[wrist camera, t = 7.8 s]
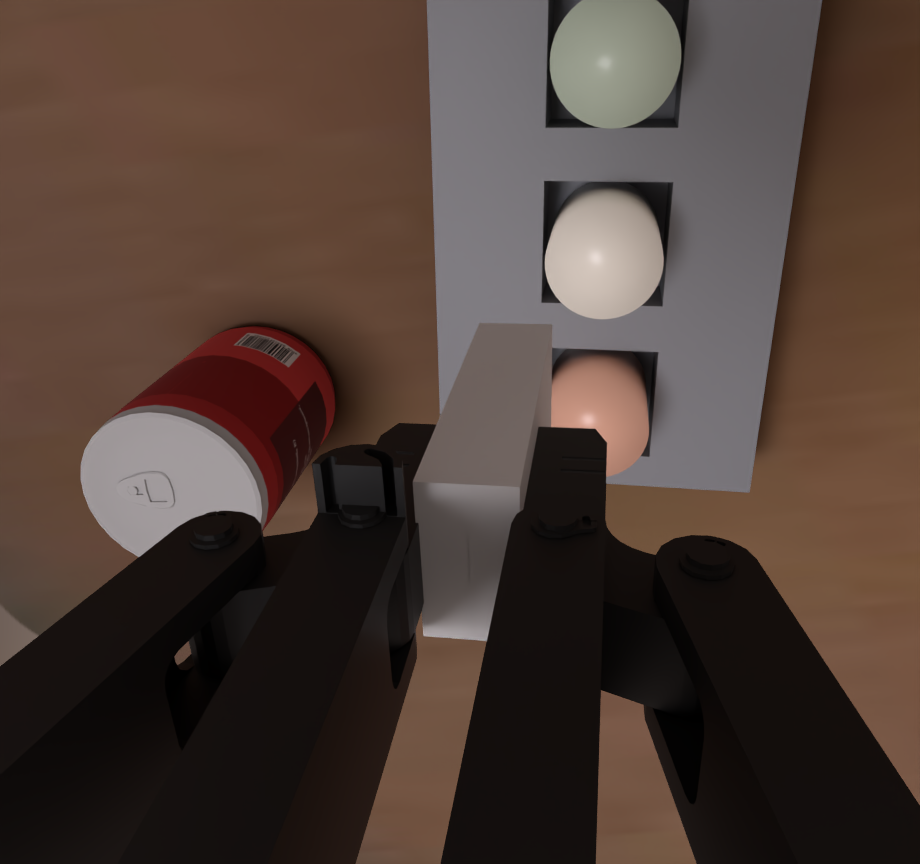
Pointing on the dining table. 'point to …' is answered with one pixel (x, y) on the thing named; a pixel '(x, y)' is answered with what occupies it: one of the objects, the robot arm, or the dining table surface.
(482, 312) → the console
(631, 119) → the button sage
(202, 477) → the canned food
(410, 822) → the dining table surface
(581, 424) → the button terracotta
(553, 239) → the button cream
